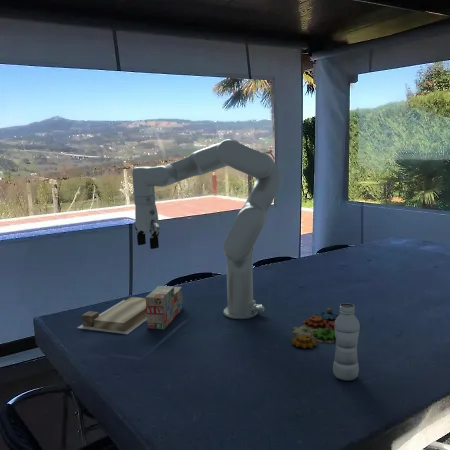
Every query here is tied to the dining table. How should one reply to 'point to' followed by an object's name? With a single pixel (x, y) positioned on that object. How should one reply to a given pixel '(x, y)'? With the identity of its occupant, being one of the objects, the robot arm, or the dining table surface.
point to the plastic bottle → (346, 343)
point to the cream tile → (114, 330)
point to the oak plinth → (122, 315)
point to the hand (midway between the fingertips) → (148, 246)
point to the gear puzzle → (316, 330)
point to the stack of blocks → (163, 306)
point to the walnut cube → (89, 318)
